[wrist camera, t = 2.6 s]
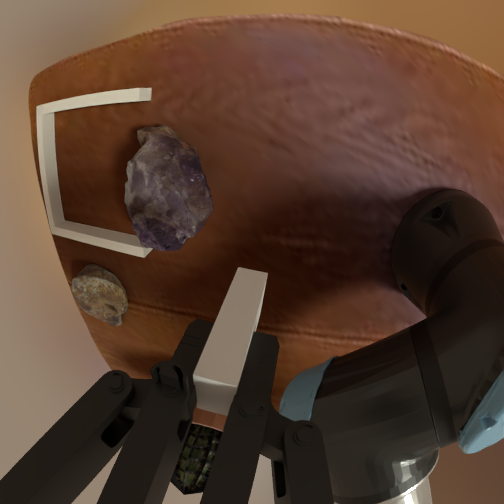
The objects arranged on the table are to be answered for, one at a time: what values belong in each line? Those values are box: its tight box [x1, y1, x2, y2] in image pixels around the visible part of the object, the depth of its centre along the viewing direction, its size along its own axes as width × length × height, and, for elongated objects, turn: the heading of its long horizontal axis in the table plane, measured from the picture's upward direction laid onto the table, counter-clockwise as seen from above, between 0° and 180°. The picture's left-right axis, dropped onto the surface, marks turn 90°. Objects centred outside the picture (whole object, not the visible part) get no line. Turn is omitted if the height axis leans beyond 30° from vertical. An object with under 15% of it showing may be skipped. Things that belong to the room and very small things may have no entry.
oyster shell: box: [72, 264, 128, 326], centre depth 41 cm, size 11×15×6 cm
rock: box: [125, 125, 213, 251], centre depth 26 cm, size 12×9×10 cm
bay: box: [37, 88, 153, 258], centre depth 30 cm, size 20×21×2 cm
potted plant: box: [170, 404, 227, 495], centre depth 38 cm, size 14×14×25 cm
